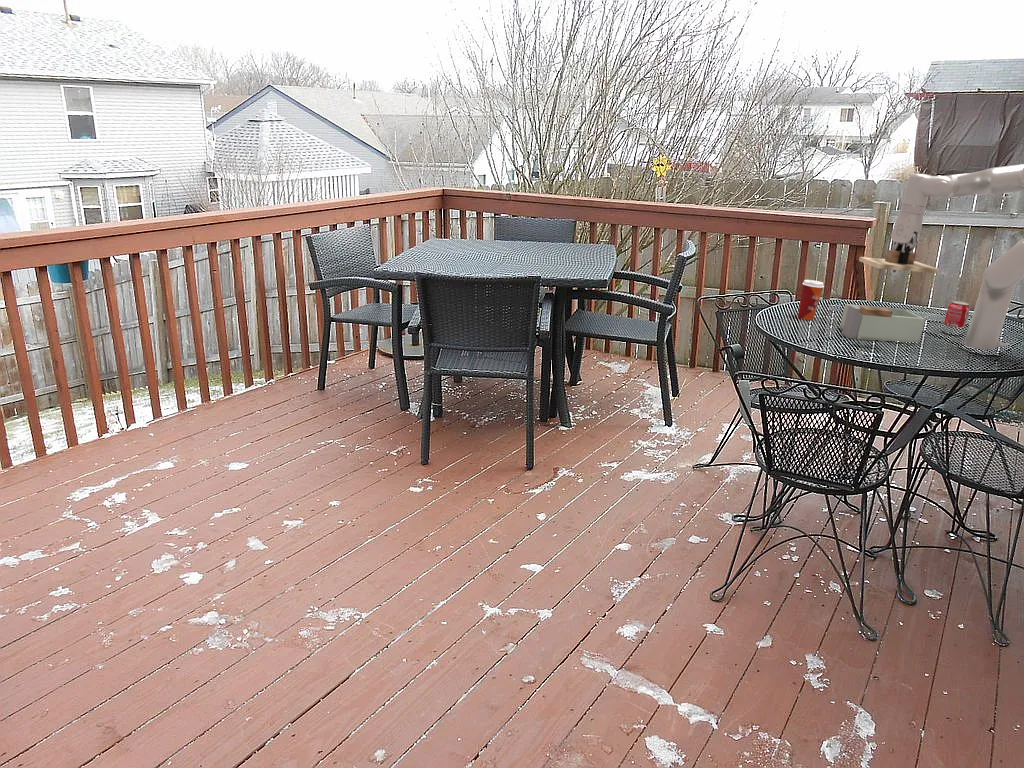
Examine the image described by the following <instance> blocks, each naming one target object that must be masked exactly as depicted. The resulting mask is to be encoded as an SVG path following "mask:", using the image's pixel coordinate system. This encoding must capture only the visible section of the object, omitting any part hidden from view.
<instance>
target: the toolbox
mask: <svg viewBox="0 0 1024 768" xmlns="http://www.w3.org/2000/svg"><path fill="white" fill-rule="evenodd" d="M861 306H862V307H874V308H886V309H889V310H891V311H893V313H892V316H891V317H880V316H868V315H863V314H862V313H860V312H859V311H860V307H861ZM925 323H926V318H924V317H922V316H920V315H918V314H916V313H913V312H911V311H909V310H907V309H906V308H896V307H887V306H886V307H885V306H884V307H883V306H872V305H862V304H861V305H860V304H848V303H845V305H844V308H843V312H842V316H841V320H840V325H839V329H840V330H841V331H842V332H841V335H843V336H844V337H846V339H856V340H865V341H874V340H878V341H877V342H886V341H900V342H919V343H920V340H921V336H922V334H923V330H924V326H925Z"/></svg>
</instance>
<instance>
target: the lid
mask: <svg viewBox="0 0 1024 768" xmlns="http://www.w3.org/2000/svg"><path fill="white" fill-rule="evenodd" d="M900 252H902V251H895V250H894V249H893V250H892V249H887V251H886V256H885V258H880V257H879V258H878V257H867V256H859V259H858V261H859V262H860V263H863V264H865V265H868V266H871V267H873V268H877V269H879V270H893V271H904V272H905V271H906V272H918V273H930V274H931V273H932V274H939V272H940V268H938V267H935V266H933V265H932V266H931V265H928V264H926V263H923V262H919V261H915V259H916V256H917V252H912V251H911V253H910V254H909V258H908V261H907V264H899V263H898V259H899V255H900Z"/></svg>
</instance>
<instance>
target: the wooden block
mask: <svg viewBox="0 0 1024 768" xmlns="http://www.w3.org/2000/svg"><path fill="white" fill-rule="evenodd" d="M874 307H875V306H874ZM874 307H862V306H861V307H860V311H859V312H860V313H862V314H863V315H868V316H880V317H891V316H892V313H893V311H891V310H889V309H886V308H887V307H886V308H874Z"/></svg>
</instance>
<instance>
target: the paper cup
mask: <svg viewBox="0 0 1024 768" xmlns="http://www.w3.org/2000/svg"><path fill="white" fill-rule="evenodd" d="M801 284H802V289H801V294H800V295H801V296H800V300H799V308H798V313H797V318H798V317H799V318H798V319H800V318H802V319H801V320H804V319H806V320H805V321H813V320H814V319H815V315H816V313H817V309H818V305H819V302H820V299H821V295H822V292H823V289H824V288H825V286H824V282H822V281H819V280H814V279H804V280H803V282H802V283H801Z"/></svg>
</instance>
